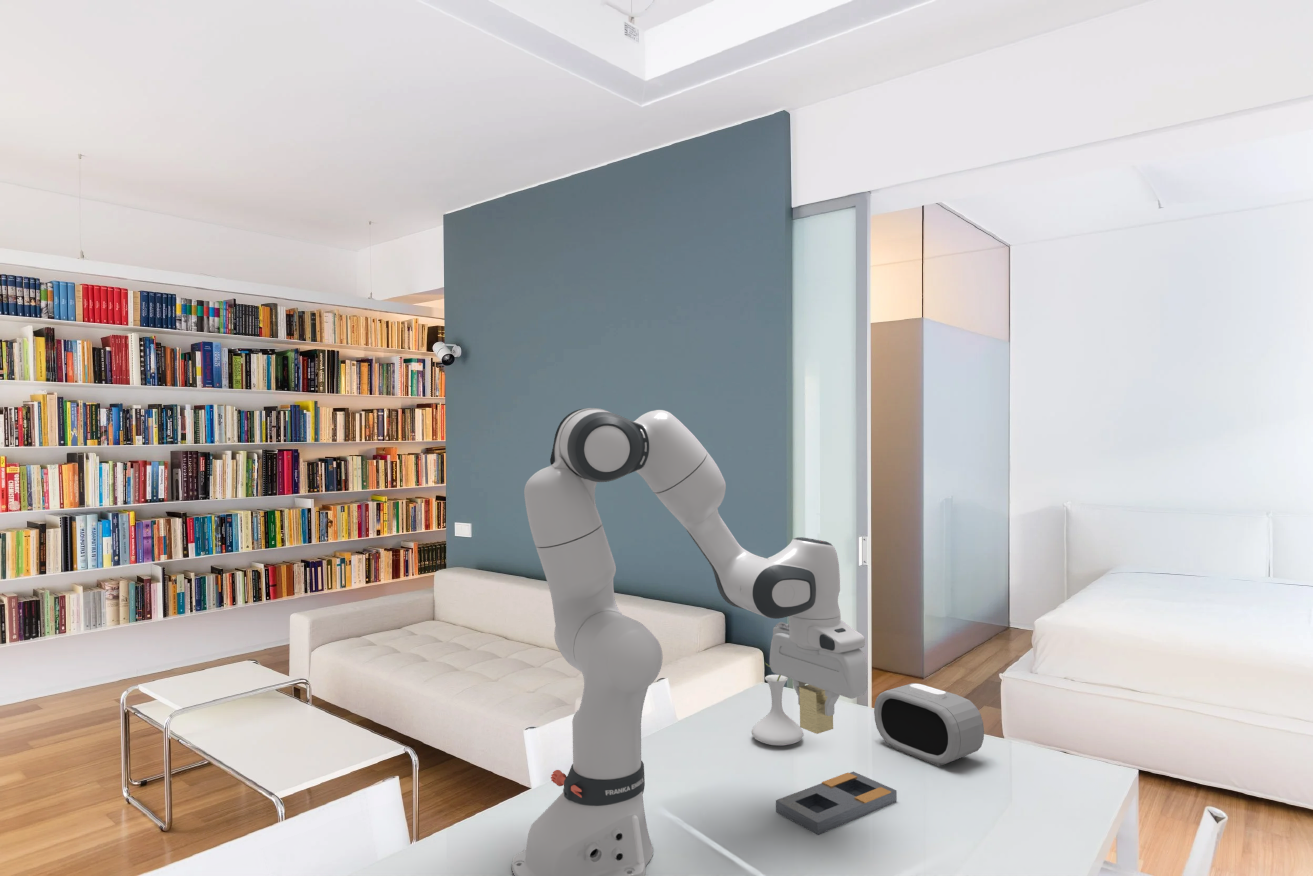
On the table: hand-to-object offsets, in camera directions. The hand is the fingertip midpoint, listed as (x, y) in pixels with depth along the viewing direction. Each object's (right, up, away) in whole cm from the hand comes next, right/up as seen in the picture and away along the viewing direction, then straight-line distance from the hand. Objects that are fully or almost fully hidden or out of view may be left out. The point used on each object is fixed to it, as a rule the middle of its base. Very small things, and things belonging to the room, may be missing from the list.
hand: (816, 710), depth 135 cm
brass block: (0, -3, 0) cm, 3 cm away
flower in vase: (0, -20, +36) cm, 41 cm away
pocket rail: (+4, -19, +3) cm, 20 cm away
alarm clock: (+29, -19, +28) cm, 45 cm away
